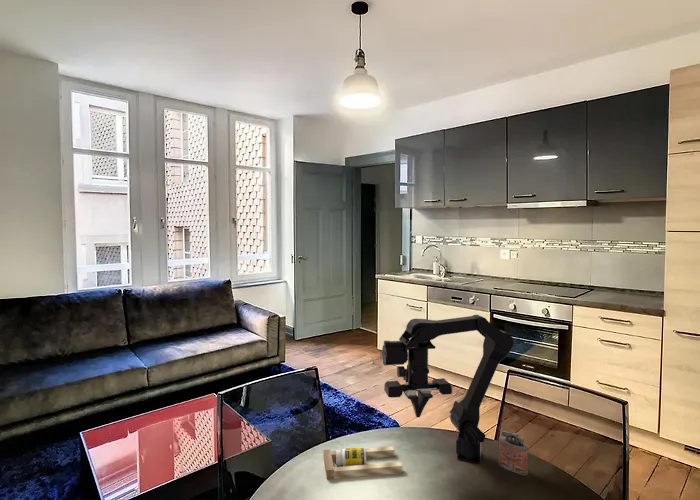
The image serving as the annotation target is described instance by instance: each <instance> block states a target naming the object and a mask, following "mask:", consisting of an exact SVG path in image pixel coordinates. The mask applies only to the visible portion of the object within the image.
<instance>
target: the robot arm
mask: <svg viewBox="0 0 700 500" xmlns="http://www.w3.org/2000/svg"><path fill="white" fill-rule="evenodd" d="M474 331H477V332H478V333H479V334H480V335H481V336H482V337H483V338H484V339H483V342H482V357H481V359H480V362H479V364H478V366H477V369H476V370H475V373H474V376H473V378H472V380H471V382H470V385H469V387H468V389H467V391H466V394H465V396H464V398H463V399H462V400H460V402H459V401H458V400H455V401H454V403H453V406H452V408H451V410H449V414H450V415H449V419H450V422H451V424H452V425H453V426H454V428H456V431H458V436H457V438H456V442H455V443H456V444H455V445H456V446H455V447H456V448H455V450H456V451H455V454H456V455H457V457H456V459H457V460H460V461H465V462H469V463H475V464H481V461H482V460H481V459H482V453H483V452H482V443H484V441H485V439H486V434H485V433H484V432H483V431H482V430H481V429H480V428H479V423H480V418H481V417H480V411H481V410H480V407H481V405H482V403H483V400H484V398H485V396H486V394H487V391H488V389H489V387H490V385H491V382H492V380H493V377H494V375H495V372H496V370H497V368H498V366H499V364H500V362H501V361H503V360H504V359H505V358H507V356H509V354H510V352H511V351H512V349H513V348H514V345H515V341H514V338H513V336H512V335H511V334H510V333H509V332H506V331H504V330H502V329H499V328H497V327H496V326H495V325H494V324H492V323H491V322H490V321H488V320H487V318H486V317H484V316H481V315H480V314H473V315H469V316H461V317H453V318H447V319H446V318H445V319H437V320H436V319H428V318H412V319H410V320H409V321H408V323H407V324H406V329H405V330H404V331H403V332H402V334H401V335H400V337H399V338H398V340H384V341H383V345H382V349H381V362H382V365H383V366H396V374H397V375H396V376H397V378H403V381H404V382H405V383H407V384H401V383H400V382H399V380H389V381H385V383H384V384H383V386H384V388H383V389H384V392H385V394H386V395H387V398H391V399H392V398H400V397H402V395H403V394H404V395H405V397H406V398H407V399H408V400H410V402H411V405H412V408H413V412H414V414H415V417H416V418H420V417H421V416H422V413H423V411H424V409H425V406H426V405H427V404H428V402H429V400H430V399H433V398H434V395H433V394H432V391H438V392H439V393H440V394H441V395H452V394H453V387H452V384H451V383H450V382H449V381H447V379H446V378H433V379H432V382H429V374H430V369H429V350H435V349H436V348H437V347H436V346H435V345H434V344H433V343H432V340H434V339H436V338H438V337H440V336H445V335H452V334H458V333H460V334H461V333H468V332H474ZM405 364H407V365H406V367H405V366H404V365H405Z"/></svg>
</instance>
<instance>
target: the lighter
mask: <svg viewBox="0 0 700 500" xmlns="http://www.w3.org/2000/svg"><path fill="white" fill-rule="evenodd" d="M500 434H501V436H500V437H498V442H499V446H498V447H499V452H498V454H499V456H498V457H499V458H498V466H499V467H500V468H503V469H505V470H508V471H510V472H513V473H515V474H518V475H521V476H527V475H528V473H529V469H528V450H529V445H528V444H526V443H524V442H525V437H524V436H520V435H518V433H516V432H513V433H511V431H510V432H509V431H507V430H502V431H501V433H500Z"/></svg>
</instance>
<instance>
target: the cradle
mask: <svg viewBox="0 0 700 500" xmlns="http://www.w3.org/2000/svg"><path fill="white" fill-rule="evenodd" d="M364 448H365V447H364ZM340 450H341V449H340ZM342 450H343V449H342ZM342 450H341V451H342ZM365 450H366V460H367V459H376V458H377V459H379V458H390V457H395V456H396V455H395V454H396V452H395V451H396V450H395V447H394V446H391V445H390V446H382V447H381V446H379V447H370V448H369V447H368V448H367V447H366V448H365ZM323 462H324V463H323V464H324V470H325V476H326V480H333V479H334V480H335V479H336V480H337V479H344V478H346V479H347V478H358V477H369V476H382V475H391V474H393V475H394V474H402V473H403V464H402V462H401V461H395V462H385V463H384V462H383V463H370V464H369V463H368V464H367V463H366V465H355V466H343V465H342V466H334V462H336V450H331V449H323Z"/></svg>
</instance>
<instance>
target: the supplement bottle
mask: <svg viewBox="0 0 700 500" xmlns="http://www.w3.org/2000/svg"><path fill="white" fill-rule="evenodd" d="M335 451H336V461H335V462H336V467H341V466H342V467H343V466H355V465H367V459H366V450H365V447H352V448H351V447H347V448H346V447H345V448H343V449H342V451H341V449H336V450H335Z"/></svg>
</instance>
